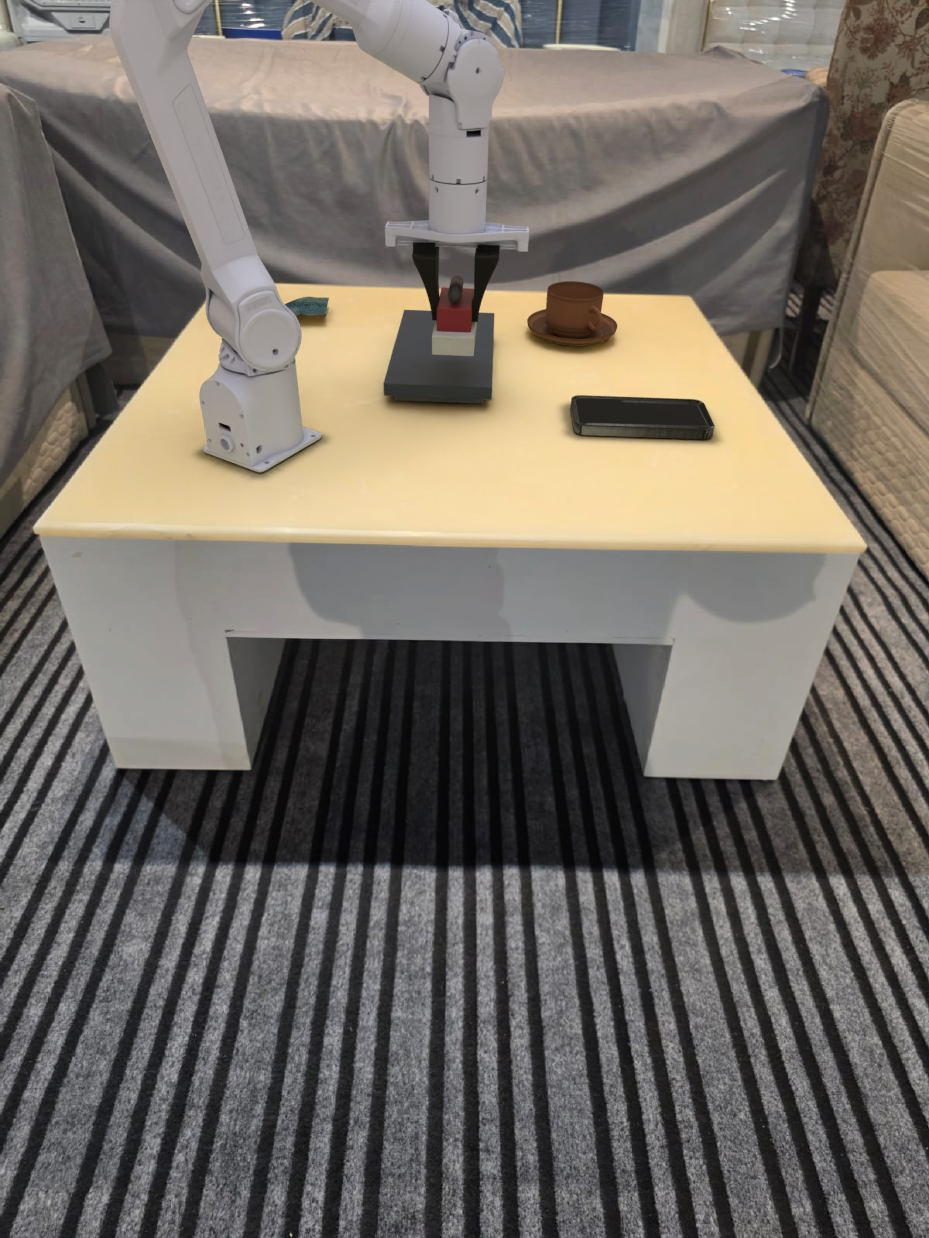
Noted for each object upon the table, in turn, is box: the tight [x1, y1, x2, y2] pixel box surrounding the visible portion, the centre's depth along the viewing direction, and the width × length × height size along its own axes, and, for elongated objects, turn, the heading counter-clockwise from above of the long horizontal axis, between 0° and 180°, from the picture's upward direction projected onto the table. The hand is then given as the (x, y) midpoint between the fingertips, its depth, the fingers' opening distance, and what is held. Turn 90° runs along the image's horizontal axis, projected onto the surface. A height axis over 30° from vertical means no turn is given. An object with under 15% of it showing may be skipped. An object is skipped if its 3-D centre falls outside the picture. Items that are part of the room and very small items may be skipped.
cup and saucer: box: [526, 280, 618, 347], centre depth 111 cm, size 12×12×6 cm
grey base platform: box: [383, 309, 495, 405], centre depth 102 cm, size 24×12×3 cm, turn 178°
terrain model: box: [284, 296, 330, 317], centre depth 115 cm, size 13×8×2 cm, turn 97°
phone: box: [569, 394, 715, 440], centre depth 92 cm, size 8×1×15 cm
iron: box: [432, 274, 477, 356], centre depth 90 cm, size 9×4×6 cm, turn 177°
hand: (455, 318), depth 90 cm, fingers closed on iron, 3 cm apart
